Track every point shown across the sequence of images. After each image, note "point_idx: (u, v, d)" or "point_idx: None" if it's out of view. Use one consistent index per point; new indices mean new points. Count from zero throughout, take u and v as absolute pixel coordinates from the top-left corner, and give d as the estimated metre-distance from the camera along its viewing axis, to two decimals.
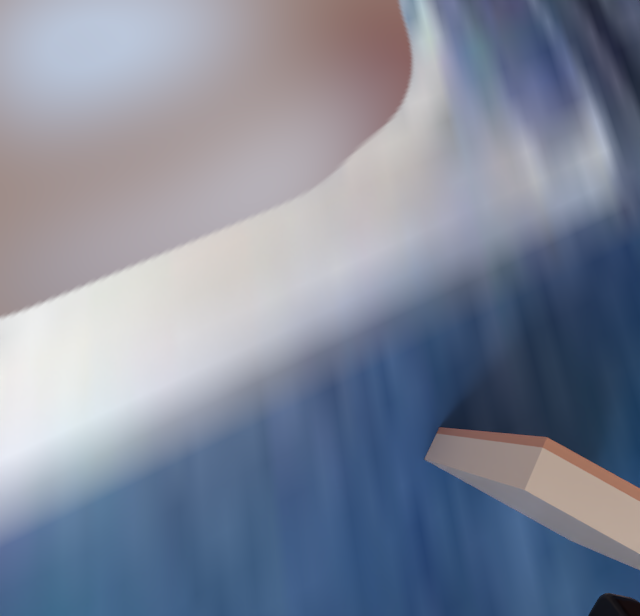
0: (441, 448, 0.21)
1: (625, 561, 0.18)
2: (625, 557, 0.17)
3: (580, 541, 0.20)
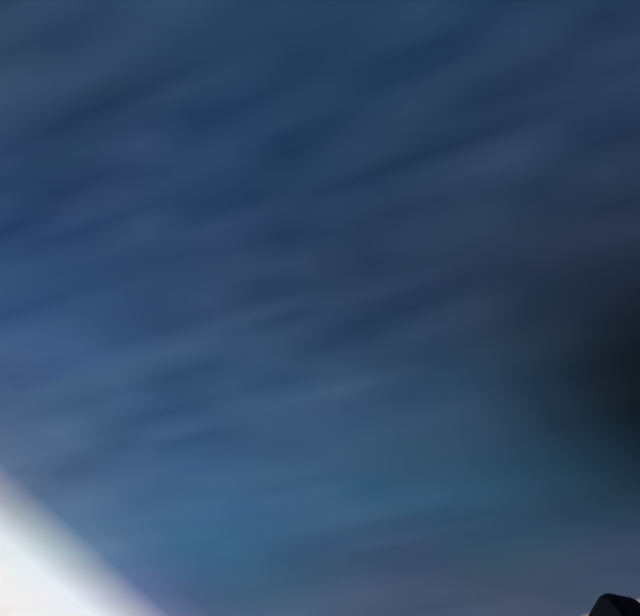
0: None
1: None
2: None
3: None
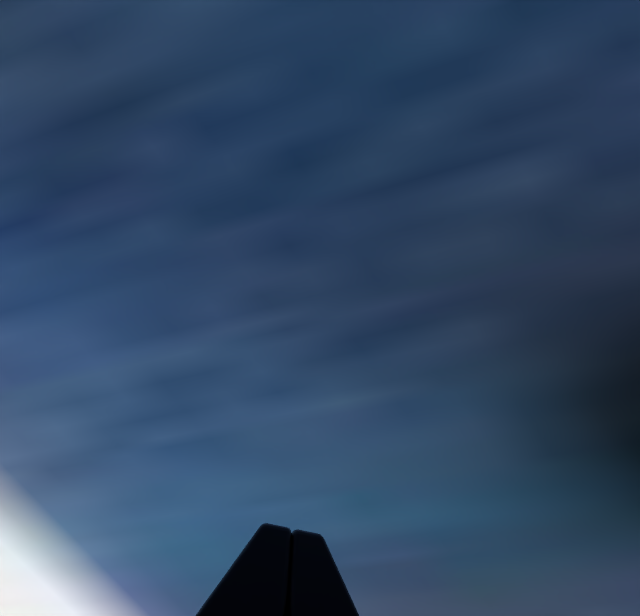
0: None
1: None
2: None
3: None
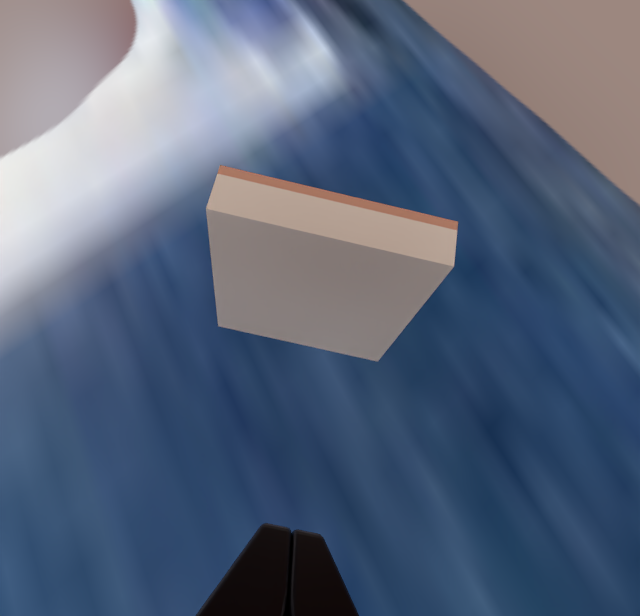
0: None
1: (387, 318, 0.19)
2: (368, 296, 0.18)
3: (365, 337, 0.21)
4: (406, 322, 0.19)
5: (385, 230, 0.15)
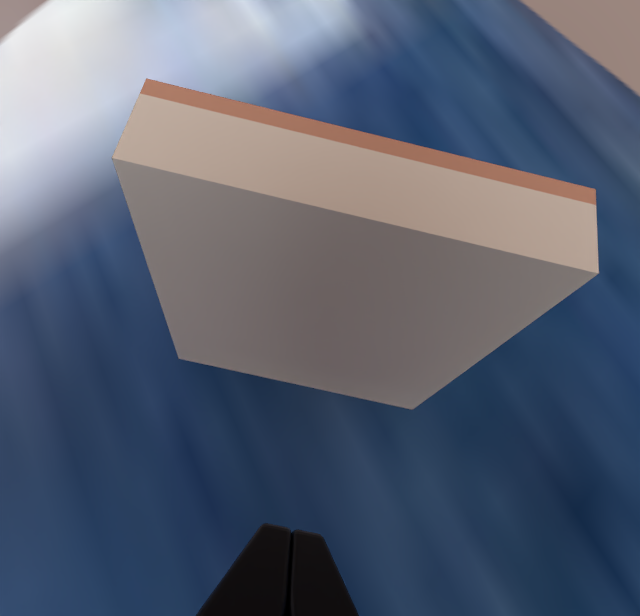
0: None
1: (440, 356, 0.12)
2: (414, 323, 0.10)
3: (398, 379, 0.14)
4: (471, 362, 0.12)
5: (464, 203, 0.08)
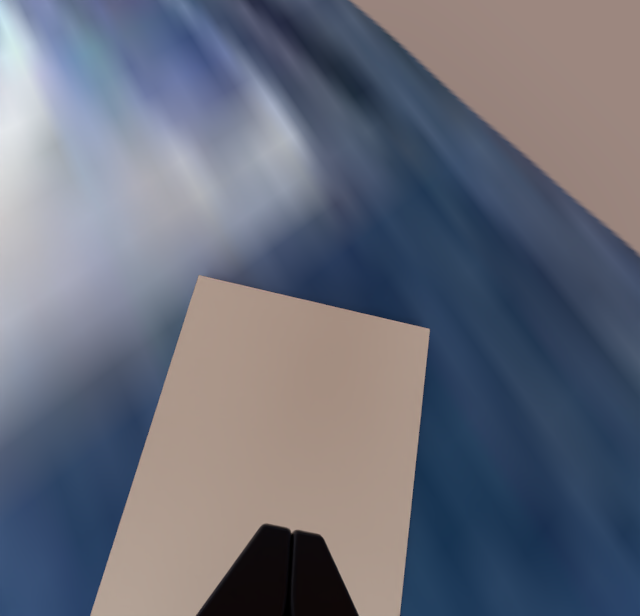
0: None
1: (385, 474, 0.14)
2: (356, 416, 0.15)
3: (361, 560, 0.13)
4: (411, 478, 0.14)
5: None
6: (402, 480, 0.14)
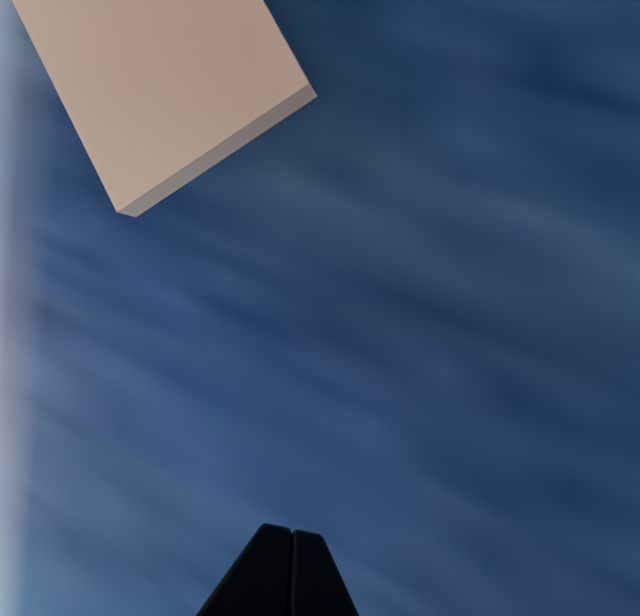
0: None
1: None
2: None
3: (237, 34, 0.16)
4: None
5: None
6: None
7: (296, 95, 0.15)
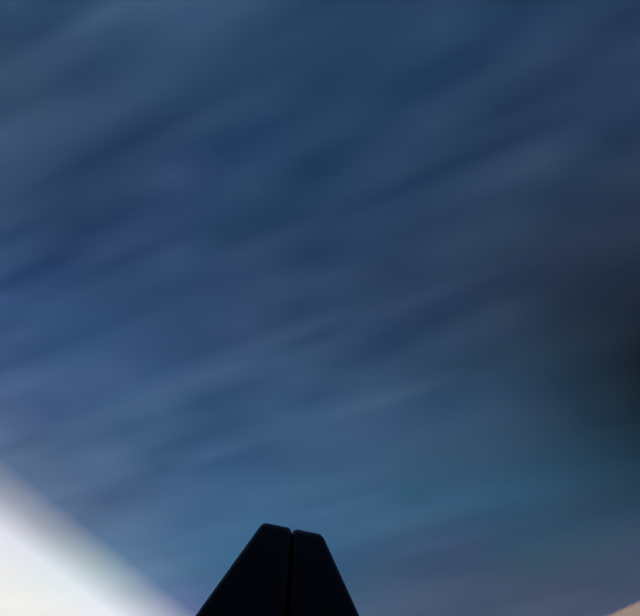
0: None
1: None
2: None
3: None
4: None
5: None
6: None
7: None
